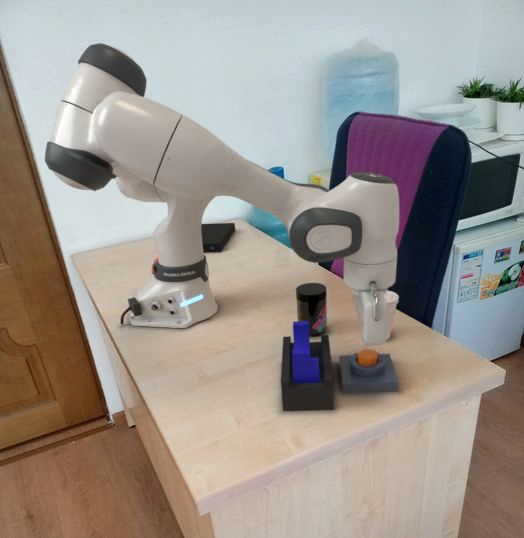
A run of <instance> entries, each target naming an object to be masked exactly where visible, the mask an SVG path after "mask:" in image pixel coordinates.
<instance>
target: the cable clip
mask: <svg viewBox="0 0 524 538" xmlns="http://www.w3.org/2000/svg"><path fill="white" fill-rule="evenodd" d="M292 331H293V332H292V333H293V343H294V350H292V361H293V378H294V383H319V360H318V357H314V358H310V342H311V340H310V339H311V337H310V336H309V321H298V320H297V321H292Z"/></svg>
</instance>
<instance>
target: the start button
mask: <svg viewBox="0 0 524 538" xmlns="http://www.w3.org/2000/svg"><path fill="white" fill-rule="evenodd" d="M357 353H358V363H359V364H360V365H363V366H373V365H376V364H377V355H378V354H377V353H378V352H377V351H376V350H373V349H368V348H367V349H362V350H359V351H358V352H357Z"/></svg>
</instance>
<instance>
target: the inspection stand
mask: <svg viewBox="0 0 524 538" xmlns="http://www.w3.org/2000/svg"><path fill="white" fill-rule="evenodd" d="M292 350H294V342H292V336H291V335H290V336H283V337H282V353H281V369H280V371H281V372H280V388H281V401H282V402H281V403H282V411H283V412H309V411H310V412H311V411H313V412H314V411H334V409H335V407H334V402H335V401H334V400H335V399H334V396H335V395H334V372H333V364H332V356H331V346H330V336H329V334H322V335H320V341H310V358H314V357H318V360H319V383H294V378H293V361H292Z"/></svg>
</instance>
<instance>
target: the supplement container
mask: <svg viewBox="0 0 524 538" xmlns="http://www.w3.org/2000/svg"><path fill="white" fill-rule="evenodd" d="M327 288H328V287H327V286H326V285H325V284H323V283H319V282H305V283H302V284H300V285H298V286H296V288H295V298H296V314H297V318H296V319H297V321H309V337H310V338H313V337H319V336H321V335H324V334H325V333H326V332H327V329H328V310H327V308H328V307H327V301H328V299H327V298H328V297H327V296H328V294H327V293H328V292H327Z"/></svg>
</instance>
